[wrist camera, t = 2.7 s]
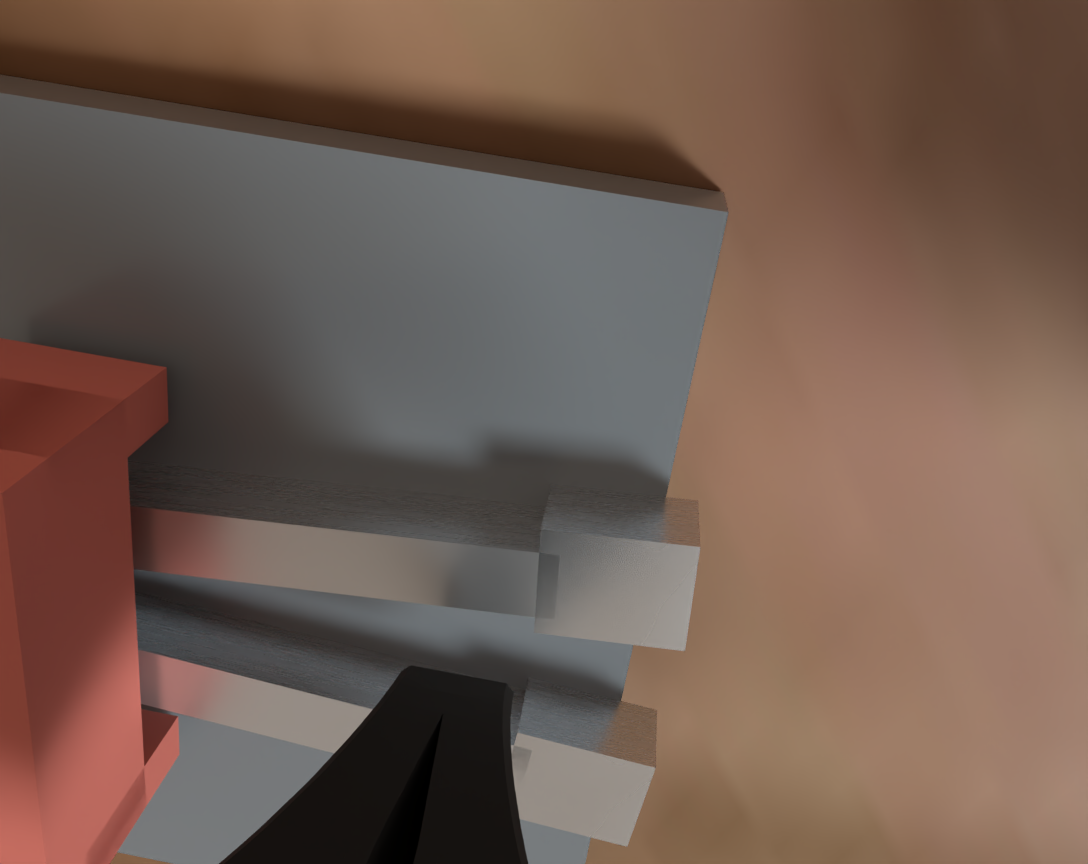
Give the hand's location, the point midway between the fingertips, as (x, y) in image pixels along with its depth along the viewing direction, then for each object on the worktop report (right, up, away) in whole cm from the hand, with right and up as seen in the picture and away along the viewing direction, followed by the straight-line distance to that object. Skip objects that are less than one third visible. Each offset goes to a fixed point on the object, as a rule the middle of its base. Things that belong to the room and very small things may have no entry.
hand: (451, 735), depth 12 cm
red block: (-5, +2, +2) cm, 6 cm away
